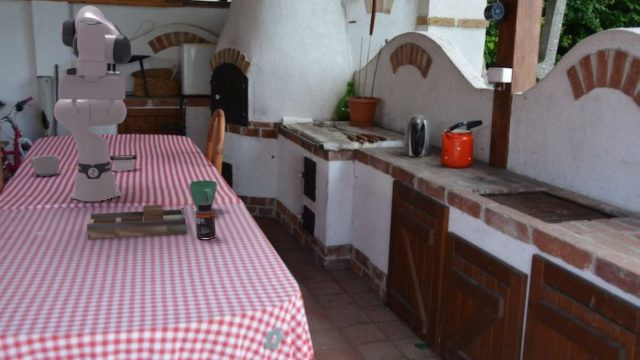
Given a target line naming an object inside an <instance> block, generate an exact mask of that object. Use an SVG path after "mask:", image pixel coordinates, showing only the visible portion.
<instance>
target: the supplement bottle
mask: <svg viewBox="0 0 640 360" xmlns="http://www.w3.org/2000/svg"><path fill="white" fill-rule="evenodd" d="M198 205H199V206H198V207H199V209H198V210H197V209H196V211H195V227H196V228H195V229H196V232H195V233H196V239H199V238H211V237H214V236H215V237H216V216H215V215H216V213H215V212H216V211H215V210H214V209H213V208H212V207H211V202H200V203H199V204H198ZM215 237H214V238H215Z"/></svg>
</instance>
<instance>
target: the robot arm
mask: <svg viewBox="0 0 640 360" xmlns="http://www.w3.org/2000/svg"><path fill="white" fill-rule="evenodd" d="M123 33H124V32H122V31H121V29H120V28H119V26H118V25H117V24H115V23H113V22H111V21H110V20H107V19H106V17H105V15H104V13H103V12H102V11H101V10H100V9H99V8H98V7H96V6H94V5H85V6H83V7H81V8H80V9H79V11H78V12H77V13H76V16H75V18H74V17H70V19H66V20H65V21H64V22H62V24H61V27H60V29H59V37H60V40H61V42H62V44H63V45H64V46H65V47H69V48H73V56H75V57H76V61H75V65H74V66H70V67H66V68H63V70H62V74H63V77H61V79H60V83H59V91H58V92H59V99H58V100H57V101H56V103H55V105H54V108H53V115H54V117H55V121H57V122H58V123H59V125H61V126H62V127H65V129H66V130H68V132H69V133H70V134H71V135H72V137H73V138H74V141H75V143H76V148H77V153H78V154H77V156H78V162H77V172H78V174H77V175H75V177H74V193H72V194H71V195H70V199H71V198H72V200H77V199H78V201H82V202H101V201H102V200H103V201H108V200H107V199H109V200H111V199H110V198H112V199H114V198H113V197H115V198H117V197H116V196H120V195H122V194H123V193H122V191H121V190H120V188H119V187H118V184H117V183H116V175H115V174H114V173H112V171H111V170H112V164H111V160H110V151H109V142H108V140H107V139H106V138H104V136H102V135H99V134H97V133H94V132H93V131H92V130H91V127H101V126H102V127H105V126H106V127H107V126H113V125H119V124H122V123H123V122H124V121H125V119H126V117H127V113H128V111H127V110H128V109H127V107H126V104H125V102H124V101H123V100H125V98H126V91H125V90H126V89H125V85H126V83H127V82H126V81H127V79H126V75H125V74H124V73H122V72H120V71H107V69H108V68H107V64H115V65H123V66H124V65H125V64H126V63H128V62H129V61H130V60H131V59H132V55H133V54H132V53H133V47H132V43H131V40H130V39H129V38H128V36H127V35H125V34H123ZM60 98H61V99H60ZM122 196H123V195H122ZM120 197H121V196H120Z"/></svg>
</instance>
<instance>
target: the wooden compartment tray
mask: <svg viewBox="0 0 640 360" xmlns="http://www.w3.org/2000/svg"><path fill="white" fill-rule="evenodd" d="M186 221H187V219H186V214H185V207H180V209H179V208H178V209H163V220H157V221H144V210H140V211H138V210H137V211H120V212H119V211H117V212H100V213H99V212H97V213H96V212H95V213H90V221H89V223H87V224H86V231H87V232H86V233H87V239H88V240H92V239H93V240H95V239H107V238H108V239H109V238H110V239H111V238H126V237H127V238H129V237H143V236H144V237H145V236H160V235H178V233H179V234H180V233H181V234H187V222H186ZM181 234H180V235H181Z"/></svg>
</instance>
